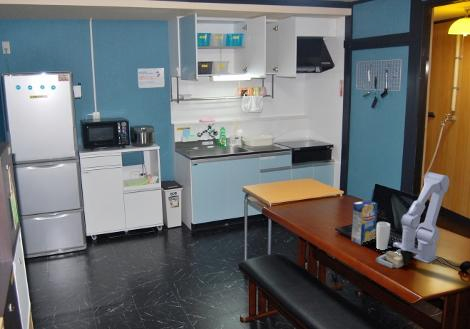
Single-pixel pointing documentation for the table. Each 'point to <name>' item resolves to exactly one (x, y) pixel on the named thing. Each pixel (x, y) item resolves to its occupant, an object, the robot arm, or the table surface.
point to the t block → (395, 259)
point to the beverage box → (364, 221)
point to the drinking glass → (382, 235)
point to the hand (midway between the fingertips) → (406, 264)
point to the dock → (382, 261)
